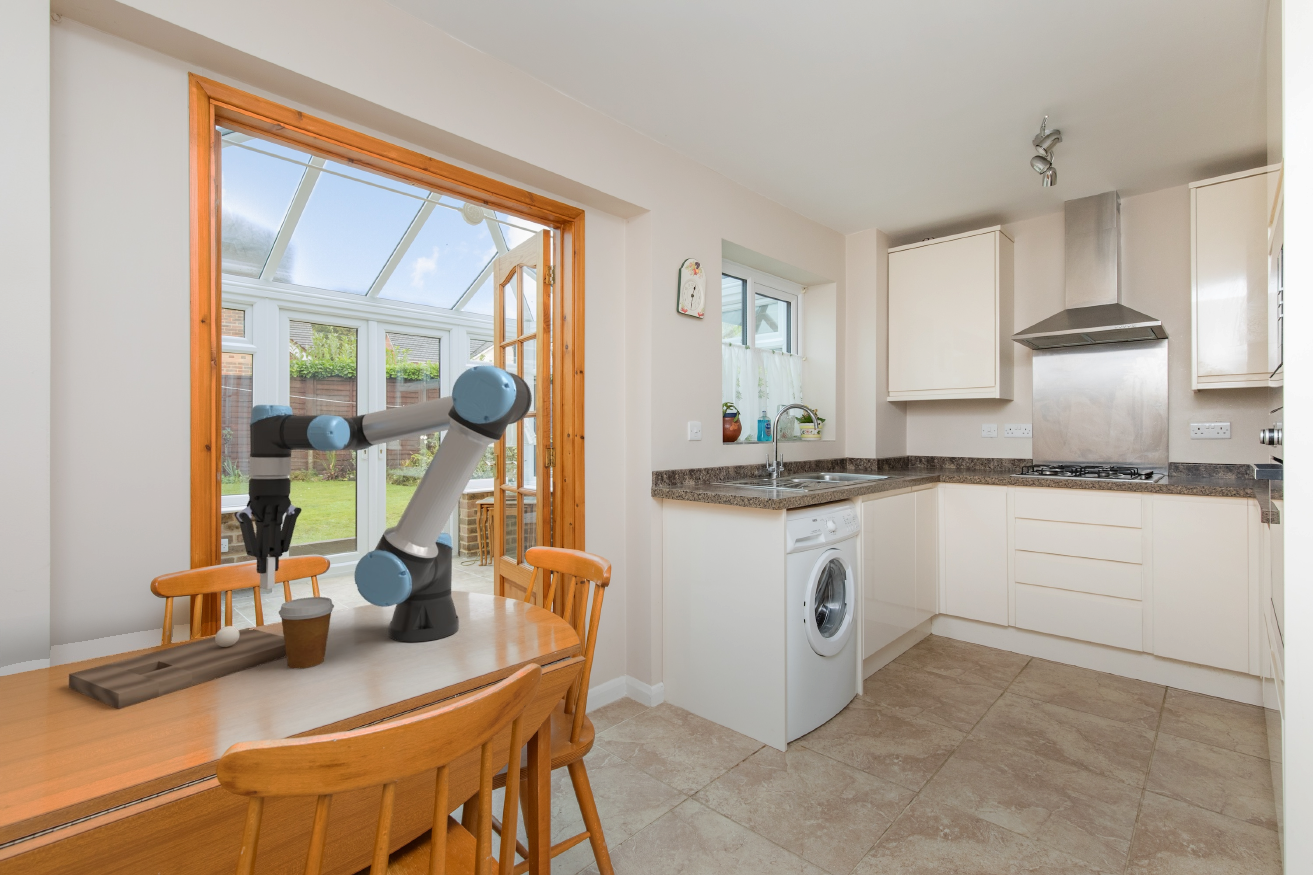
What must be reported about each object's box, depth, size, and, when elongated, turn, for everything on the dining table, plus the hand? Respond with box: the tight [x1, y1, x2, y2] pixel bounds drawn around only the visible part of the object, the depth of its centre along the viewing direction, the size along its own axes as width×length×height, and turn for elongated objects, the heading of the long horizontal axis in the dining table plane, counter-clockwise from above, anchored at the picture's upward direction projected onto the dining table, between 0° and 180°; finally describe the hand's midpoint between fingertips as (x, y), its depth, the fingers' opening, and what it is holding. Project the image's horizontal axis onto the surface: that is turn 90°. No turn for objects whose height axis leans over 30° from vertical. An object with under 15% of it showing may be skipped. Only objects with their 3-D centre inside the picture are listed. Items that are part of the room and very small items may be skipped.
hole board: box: [68, 627, 287, 710], centre depth 115 cm, size 18×30×2 cm, turn 153°
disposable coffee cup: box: [278, 596, 335, 669], centre depth 119 cm, size 10×10×12 cm
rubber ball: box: [214, 625, 240, 647], centre depth 121 cm, size 4×4×4 cm
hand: (267, 587), depth 128 cm, fingers closed
